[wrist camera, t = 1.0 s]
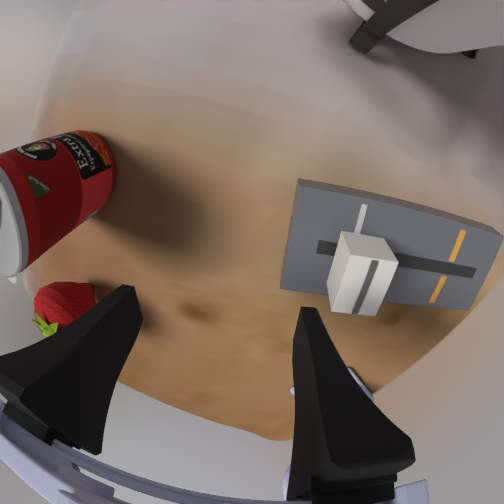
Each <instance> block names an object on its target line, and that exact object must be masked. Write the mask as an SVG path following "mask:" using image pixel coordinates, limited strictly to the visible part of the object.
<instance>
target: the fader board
mask: <svg viewBox="0 0 504 504" xmlns="http://www.w3.org/2000/svg"><path fill="white" fill-rule="evenodd" d="M341 231H346V232H352V233H357V234H363V235H368V236H374V237H379V238H384V239H385V241H386V243H387V244H388V246H389V247H390V249H391V251H392V252H393V254H394V256H395V257H396V259H397V261H398V262H399V263H398V265H397V268H396V270H395V273H394V275H393V278H392V280H391V282H390V285H389V287H388V289H387V292H386V294H385V296H384V299H383V301H382V302H389V303H398V304H408V305H418V306H428V307H439V308H451V309H464V310H469V308H470V306H471V304H472V303H473V301H474V299H475V297H476V295H477V294H478V292H479V290H480V288H481V286H482V284H483V282H484V280H485V278H486V276H487V274H488V272H489V270H490V268H491V266H492V263H493V261H494V259H495V257H496V254H497V252H498V250H499V247H500V245H501V243H502V240H503V236H502V235H501V234H500V233H499V232H497V231H496V230H495V229H494V228H493V227H491V226H488V225H485V224H482V223H479V222H476V221H473V220H470V219H467V218H464V217H461V216H457V215H454V214H451V213H448V212H444V211H441V210H438V209H434V208H431V207H427V206H423V205H420V204H416V203H412V202H408V201H404V200H400V199H396V198H392V197H388V196H384V195H380V194H375V193H371V192H366V191H362V190H357V189H352V188H347V187H342V186H337V185H332V184H327V183H321V182H316V181H310V180H304V179H298V181H297V187H296V193H295V199H294V205H293V211H292V216H291V222H290V228H289V233H288V239H287V244H286V250H285V255H284V260H283V266H282V271H281V281H280V289H286V290H293V291H300V292H307V293H315V294H322V295H329V294H328V288H327V280H328V276H329V273H330V270H331V266H332V263H333V259H334V256H335V252H336V249H337V245H338V241H339V238H340V234H341Z"/></svg>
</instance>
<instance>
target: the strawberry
mask: <svg viewBox="0 0 504 504" xmlns="http://www.w3.org/2000/svg"><path fill="white" fill-rule="evenodd" d="M95 305H96V301H95V295H94V289H93V287H92V286H91V285H90V284H88V283H76V282H54V283H51V284H49V285H47V286H45V287H42V288H40V290H39V291H38V293H37V295H36V296H35V298H34V307H35V313H36V315H37V317H38V319H39V321H40V323H41V324H40V323H39V322H37V321H35V320H33V319H32V321H33V322H34V323H35V324H36V325H37V326H39V327H40V328H41V329H42V330H43V331H42V335H44V336H46V337H49V336H51V335H52V334H54V333H56V332H58V331H59V330H61V329H63V328H64V327H66V326H67V325H69V324H70V323H72V322H73V321H74V320H76V319H77V318H79V317H80V316H81V315H83V314H84V313H86V312H87V311H88V310H90V309H91V308H92V307H93V306H95Z"/></svg>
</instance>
